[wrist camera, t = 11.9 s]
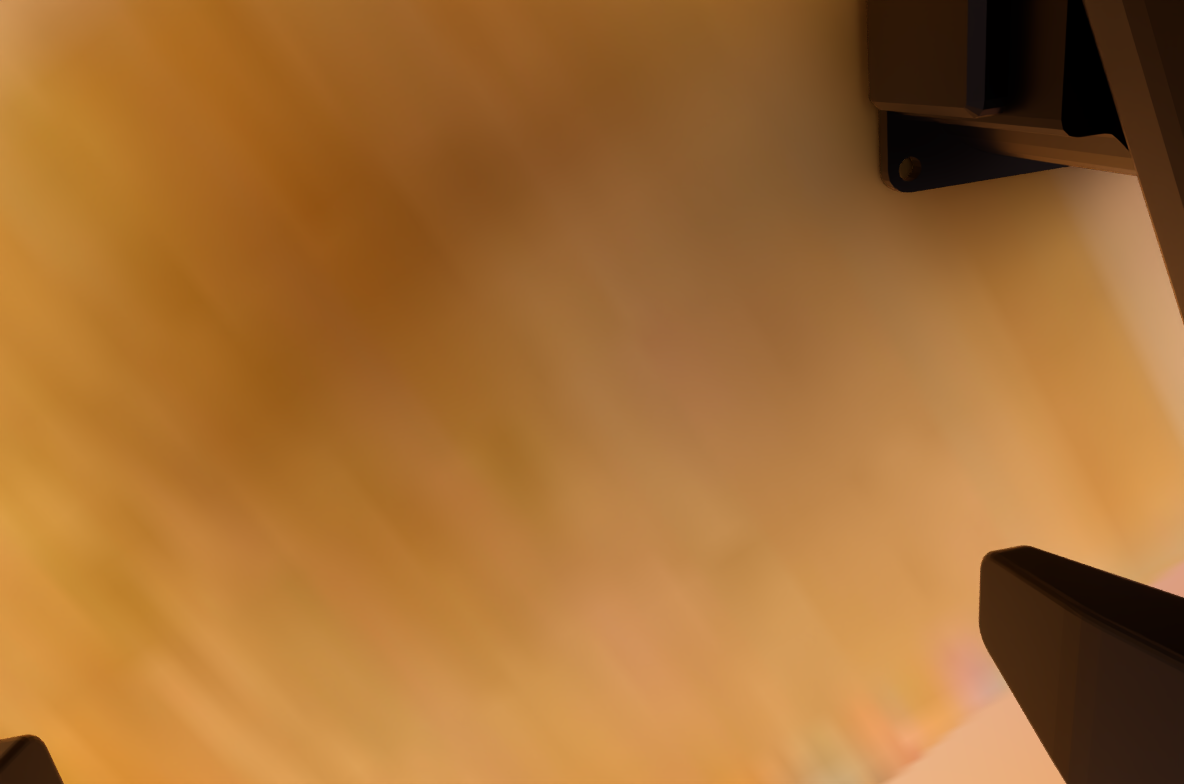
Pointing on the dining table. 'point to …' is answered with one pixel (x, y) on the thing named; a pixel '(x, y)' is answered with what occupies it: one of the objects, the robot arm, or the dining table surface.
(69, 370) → the dining table surface
